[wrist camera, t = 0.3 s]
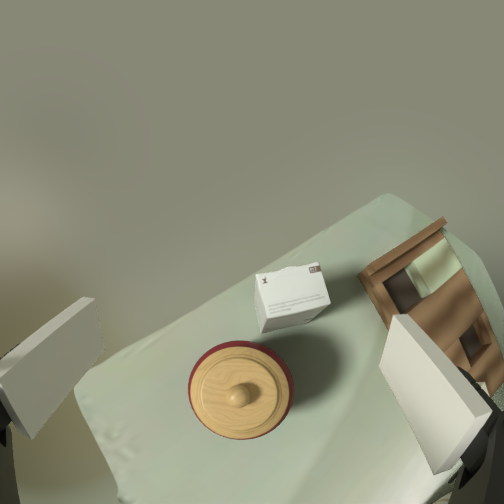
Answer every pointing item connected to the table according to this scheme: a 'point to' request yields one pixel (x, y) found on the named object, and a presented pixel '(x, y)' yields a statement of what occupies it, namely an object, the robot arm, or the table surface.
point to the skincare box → (290, 296)
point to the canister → (240, 390)
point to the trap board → (436, 302)
